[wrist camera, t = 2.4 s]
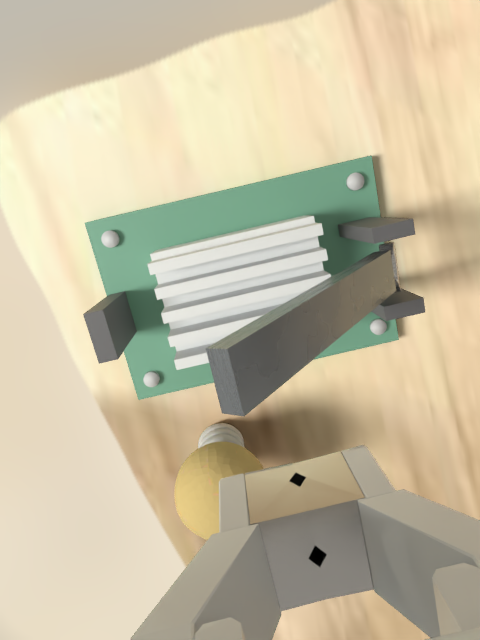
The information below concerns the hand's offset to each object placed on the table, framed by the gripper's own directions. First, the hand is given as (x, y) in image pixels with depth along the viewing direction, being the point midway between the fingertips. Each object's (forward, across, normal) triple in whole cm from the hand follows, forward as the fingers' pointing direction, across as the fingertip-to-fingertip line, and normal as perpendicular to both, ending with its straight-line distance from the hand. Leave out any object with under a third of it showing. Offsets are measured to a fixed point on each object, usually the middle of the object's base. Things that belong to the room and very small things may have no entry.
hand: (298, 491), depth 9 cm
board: (+26, -1, 0) cm, 26 cm away
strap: (+13, -4, 0) cm, 14 cm away
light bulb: (+26, +4, +12) cm, 29 cm away
